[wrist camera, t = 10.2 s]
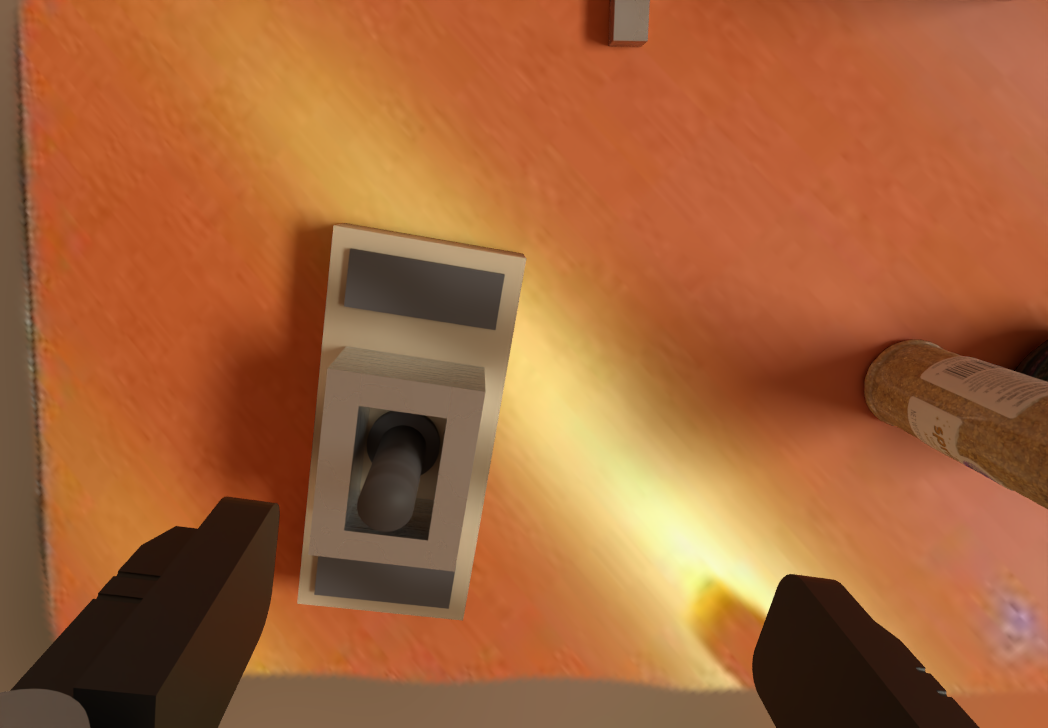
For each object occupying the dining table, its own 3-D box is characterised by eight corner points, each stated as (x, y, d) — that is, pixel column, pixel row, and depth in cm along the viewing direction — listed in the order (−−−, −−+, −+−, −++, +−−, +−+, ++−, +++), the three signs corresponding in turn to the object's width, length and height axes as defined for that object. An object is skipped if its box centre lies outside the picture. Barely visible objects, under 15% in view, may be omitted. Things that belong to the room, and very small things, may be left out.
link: (346, 346, 27) (327, 368, 23) (484, 367, 27) (485, 391, 24) (328, 512, 29) (308, 554, 25) (457, 528, 29) (454, 571, 26)
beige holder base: (343, 223, 27) (290, 235, 20) (522, 253, 28) (539, 277, 20) (308, 578, 32) (254, 701, 24) (463, 595, 33) (459, 719, 25)
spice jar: (847, 415, 32) (1104, 570, 19) (878, 328, 30) (1174, 430, 17) (928, 429, 32) (1233, 590, 19) (962, 345, 31) (1309, 455, 18)
